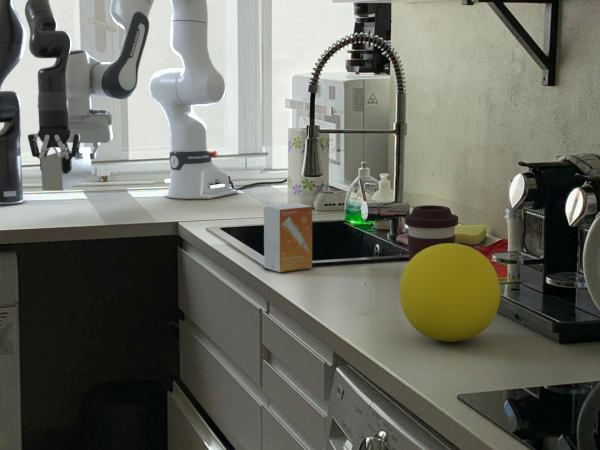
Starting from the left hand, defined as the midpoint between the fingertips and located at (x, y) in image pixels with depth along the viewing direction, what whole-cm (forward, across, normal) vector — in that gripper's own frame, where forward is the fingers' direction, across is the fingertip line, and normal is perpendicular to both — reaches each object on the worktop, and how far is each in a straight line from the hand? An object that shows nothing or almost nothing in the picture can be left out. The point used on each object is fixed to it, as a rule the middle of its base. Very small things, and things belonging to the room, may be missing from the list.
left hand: (56, 172), depth 275 cm
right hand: (-2, 0, -19) cm, 19 cm away
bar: (+4, 0, -9) cm, 10 cm away
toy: (+13, -98, +108) cm, 146 cm away
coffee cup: (+13, -96, +71) cm, 120 cm away
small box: (+13, -67, +56) cm, 89 cm away
